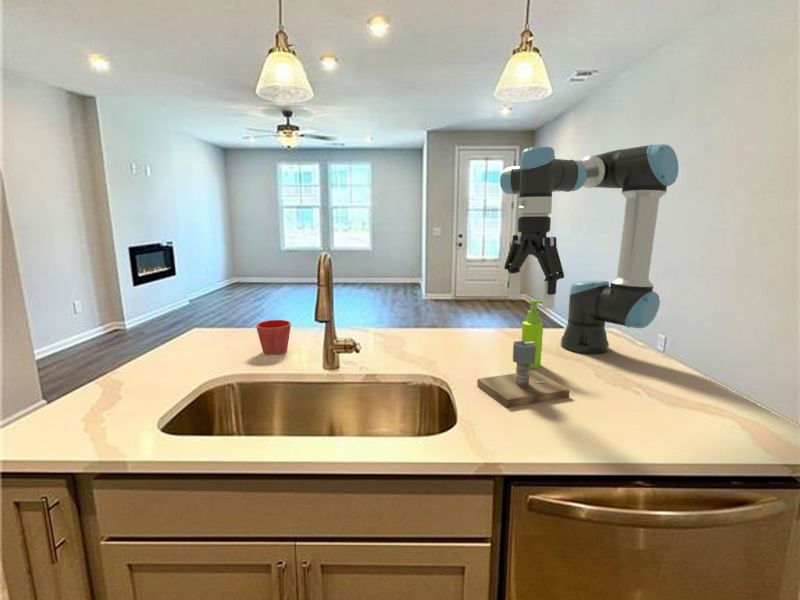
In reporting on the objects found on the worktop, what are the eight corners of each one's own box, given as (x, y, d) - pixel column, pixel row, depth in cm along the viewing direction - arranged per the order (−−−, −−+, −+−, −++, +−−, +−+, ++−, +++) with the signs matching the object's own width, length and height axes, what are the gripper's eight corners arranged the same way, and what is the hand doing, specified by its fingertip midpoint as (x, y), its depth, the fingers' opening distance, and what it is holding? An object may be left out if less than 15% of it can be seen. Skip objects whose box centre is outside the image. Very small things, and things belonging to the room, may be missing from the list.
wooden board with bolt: (534, 377, 118) (535, 350, 117) (569, 397, 105) (571, 366, 104) (477, 385, 112) (478, 357, 111) (507, 407, 100) (508, 375, 98)
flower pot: (284, 357, 136) (282, 328, 134) (252, 355, 138) (250, 326, 136) (297, 347, 146) (295, 320, 144) (267, 346, 148) (265, 319, 146)
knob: (519, 365, 104) (519, 346, 103) (507, 358, 109) (508, 341, 108) (539, 362, 106) (540, 344, 105) (527, 356, 111) (528, 339, 110)
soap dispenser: (545, 368, 125) (549, 302, 121) (521, 367, 126) (524, 301, 123) (542, 362, 131) (546, 299, 127) (519, 361, 132) (523, 298, 128)
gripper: (492, 216, 112) (490, 294, 116) (556, 215, 89) (550, 314, 93) (517, 215, 114) (513, 293, 118) (585, 215, 91) (578, 311, 95)
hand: (530, 302), depth 106 cm, fingers open, 13 cm apart
